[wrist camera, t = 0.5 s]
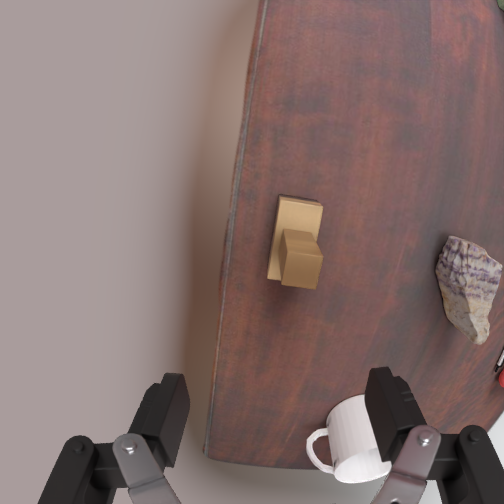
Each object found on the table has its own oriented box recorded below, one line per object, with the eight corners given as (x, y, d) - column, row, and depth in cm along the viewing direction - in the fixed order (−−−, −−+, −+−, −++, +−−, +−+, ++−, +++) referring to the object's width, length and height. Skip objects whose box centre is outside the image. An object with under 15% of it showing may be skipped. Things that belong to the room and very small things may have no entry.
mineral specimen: (488, 300, 30) (514, 323, 24) (446, 327, 32) (469, 355, 26) (472, 212, 27) (506, 226, 21) (425, 240, 28) (455, 261, 23)
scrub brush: (278, 193, 28) (283, 214, 19) (317, 200, 28) (339, 224, 19) (267, 264, 30) (266, 313, 21) (303, 269, 30) (316, 319, 21)
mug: (394, 389, 35) (415, 439, 26) (379, 429, 38) (393, 476, 29) (307, 398, 36) (314, 455, 27) (302, 437, 39) (306, 488, 30)
